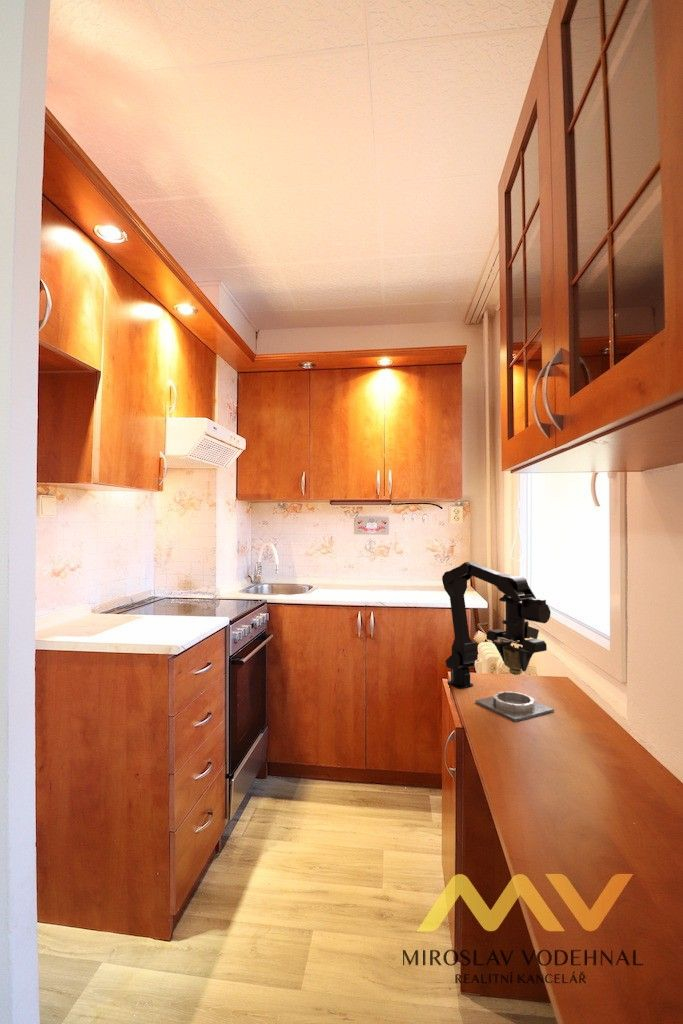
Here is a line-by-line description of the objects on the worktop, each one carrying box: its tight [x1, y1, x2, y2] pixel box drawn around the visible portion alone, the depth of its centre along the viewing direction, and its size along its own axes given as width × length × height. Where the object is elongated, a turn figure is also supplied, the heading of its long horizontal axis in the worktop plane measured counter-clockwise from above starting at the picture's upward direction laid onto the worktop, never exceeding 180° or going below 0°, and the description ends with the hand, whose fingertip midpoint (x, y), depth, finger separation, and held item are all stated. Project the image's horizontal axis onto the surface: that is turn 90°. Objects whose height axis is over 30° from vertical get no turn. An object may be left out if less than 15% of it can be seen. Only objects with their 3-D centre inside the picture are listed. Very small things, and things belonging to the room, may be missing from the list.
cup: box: [503, 644, 523, 676], centre depth 147 cm, size 8×7×8 cm
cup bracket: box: [474, 690, 555, 723], centre depth 146 cm, size 16×16×3 cm
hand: (515, 668), depth 147 cm, fingers closed on cup, 6 cm apart
